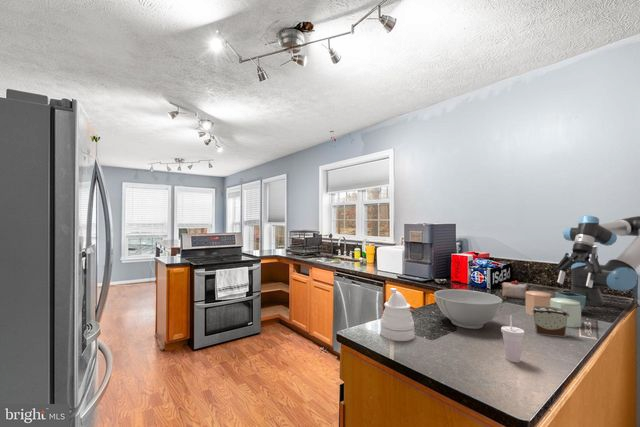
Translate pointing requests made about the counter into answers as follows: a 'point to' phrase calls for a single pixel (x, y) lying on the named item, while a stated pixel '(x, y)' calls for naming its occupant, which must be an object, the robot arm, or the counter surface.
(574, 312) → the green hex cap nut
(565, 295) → the flower pot
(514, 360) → the smoothie
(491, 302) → the decorative bowl
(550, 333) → the food container
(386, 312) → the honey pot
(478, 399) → the counter surface
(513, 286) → the food item
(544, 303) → the octagonal lidded jar
